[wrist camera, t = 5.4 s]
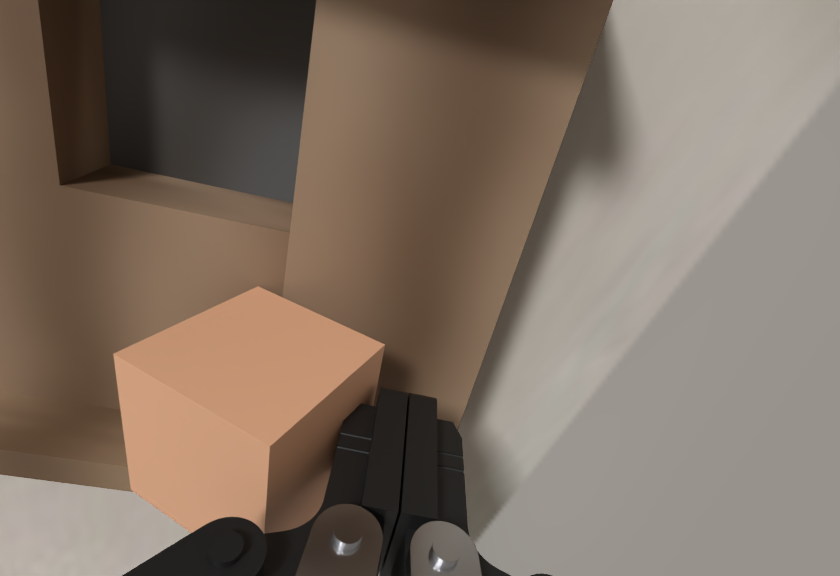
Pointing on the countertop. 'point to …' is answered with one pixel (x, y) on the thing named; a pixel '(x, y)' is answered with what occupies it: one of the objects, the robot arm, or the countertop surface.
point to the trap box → (263, 186)
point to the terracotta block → (242, 410)
